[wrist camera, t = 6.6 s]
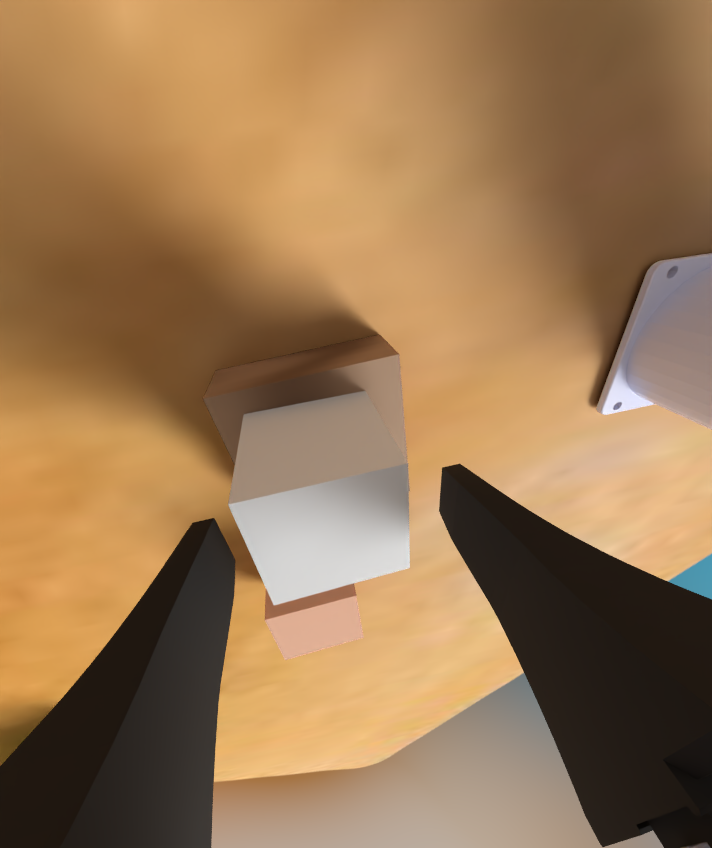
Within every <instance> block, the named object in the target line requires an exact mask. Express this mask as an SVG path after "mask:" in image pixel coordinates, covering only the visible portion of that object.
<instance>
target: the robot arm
mask: <svg viewBox="0 0 712 848" xmlns="http://www.w3.org/2000/svg"><path fill="white" fill-rule="evenodd" d="M653 404H656V405H658V406H661V407H663V408H665V409H667V410H669V411H672V412H674V413H676V414H678V415H680V416H683V417H685V418H687V419H689V420H691V421H694V422H696V423H698V424H700V425H702V426H705V427H707V428H709V429H711V430H712V253H708V254H701V255H695V256H688V257H681V258H674V259H668V260H661V261H658V262H656V263H654V264H653V265H652V266H651V267H650V268H649V269H648V271H647V273H646V275H645V278H644V280H643V283H642V286H641V289H640V291H639V294H638V297H637V299H636V302H635V305H634V307H633V310H632V313H631V316H630V318H629V321H628V324H627V326H626V329H625V332H624V334H623V337H622V340H621V343H620V345H619V348H618V351H617V353H616V356H615V359H614V361H613V364H612V367H611V370H610V372H609V375H608V378H607V380H606V383H605V386H604V388H603V391H602V394H601V397H600V399H599V402H598V405H597V411H598V412H599V413H601V414H603V415H607V414H612V413H616V412H621V411H626V410H630V409H635V408H640V407H644V406H649V405H653ZM439 512H440V514H441V516H442V519H443V521H444V523H445V526H446V528H447V530H448V532H449V534H450V537H451V539H452V541H453V542H454V544H455V546H456V548H457V549H458V551H459V553H460V554H461V556H462V558H463V559H464V561H465V563H466V564H467V566H468V568H469V569H470V571H471V573H472V574H473V576H474V578H475V579H476V581H477V583H478V584H479V586H480V588H481V589H482V591H483V593H484V594H485V596H486V598H487V599H488V601H489V603H490V605H491V606H492V608H493V610H494V612H495V614H496V615H497V617H498V619H499V621H500V623H501V625H502V627H503V629H504V631H505V633H506V635H507V637H508V639H509V641H510V644H511V646H512V648H513V650H514V652H515V654H516V656H517V658H518V660H519V662H520V665H521V667H522V669H523V671H524V673H525V675H526V677H527V679H528V682H529V684H530V686H531V688H532V690H533V693H534V695H535V697H536V699H537V701H538V704H539V706H540V708H541V710H542V713H543V715H544V717H545V720H546V722H547V724H548V727H549V729H550V731H551V733H552V736H553V738H554V740H555V743H556V745H557V747H558V750H559V752H560V754H561V757H562V759H563V762H564V764H565V767H566V769H567V771H568V774H569V776H570V779H571V781H572V784H573V786H574V788H575V791H576V793H577V796H578V798H579V801H580V804H581V806H582V809H583V811H584V814H585V816H586V818H587V820H588V822H589V823H590V825H591V827H592V829H593V831H594V833H595V835H596V837H597V839H598V841H599V843H600V844H601V845H602V847H605V846H608V845H611V844H614V843H617V842H620V841H624V840H627V839H630V838H633V837H636V836H640V835H642V834H645V833H647V832H650V831H652V830H653V831H654V832H655V834H656V835H657V837H658V839H659V840H660V842H661V843H662V845H663V847H664V848H712V600H711V599H709V598H707V597H704V596H701V595H699V594H697V593H694V592H691V591H689V590H686V589H684V588H682V587H679V586H677V585H674V584H672V583H670V582H667V581H665V580H663V579H660V578H658V577H656V576H654V575H651V574H649V573H647V572H645V571H643V570H640V569H638V568H636V567H634V566H632V565H629V564H627V563H625V562H623V561H621V560H619V559H617V558H615V557H613V556H610V555H608V554H606V553H604V552H602V551H600V550H599V549H597V548H595V547H593V546H591V545H589V544H587V543H585V542H583V541H581V540H579V539H577V538H575V537H574V536H572V535H570V534H568V533H566V532H565V531H563V530H561V529H559V528H558V527H556V526H554V525H552V524H551V523H549V522H547V521H546V520H544V519H542V518H541V517H539V516H537V515H536V514H534V513H532V512H531V511H529V510H528V509H526V508H524V507H523V506H521V505H520V504H518V503H517V502H515V501H514V500H512V499H511V498H509V497H508V496H506V495H505V494H503V493H502V492H500V491H499V490H497V489H496V488H494V487H493V486H491V485H490V484H488V483H487V482H486V481H484V480H483V479H481V478H480V477H478V476H477V475H475V474H474V473H473V472H471V471H470V470H468V469H467V468H465V467H464V466H462V465H461V464H457V465H452V466H448V467H443V468H442V479H441V493H440V507H439ZM234 585H235V558H234V556H233V554H232V552H231V550H230V549H229V547H228V545H227V543H226V541H225V539H224V537H223V535H222V533H221V531H220V529H219V527H218V525H217V523H216V521H215V519H214V518H212V519H208V520H203V521H199V522H194V523H192V525H191V526H190V528H189V529H188V530H187V532H186V533H185V535H184V536H183V538H182V539H181V541H180V542H179V544H178V545H177V547H176V548H175V550H174V551H173V553H172V554H171V556H170V557H169V559H168V560H167V562H166V563H165V565H164V566H163V568H162V569H161V571H160V572H159V573H158V575H157V576H156V578H155V579H154V581H153V582H152V583H151V585H150V586H149V588H148V589H147V591H146V592H145V593H144V595H143V596H142V598H141V599H140V601H139V602H138V603H137V605H136V606H135V607H134V609H133V610H132V611H131V613H130V614H129V615H128V617H127V618H126V619H125V621H124V622H123V623H122V625H121V626H120V627H119V629H118V630H117V631H116V633H115V634H114V635H113V637H112V638H111V639H110V641H109V642H108V643H107V645H106V646H105V647H104V648H103V650H102V651H101V652H100V653H99V655H98V656H97V657H96V658H95V660H94V661H93V662H92V663H91V665H90V666H89V667H88V668H87V669H86V671H85V672H84V673H83V674H82V675H81V677H80V678H79V679H78V680H77V681H76V682H75V684H74V685H73V686H72V687H71V688H70V690H69V691H68V692H67V693H66V694H65V696H64V697H63V698H62V699H61V700H60V701H59V702H58V704H57V705H56V706H55V707H54V708H53V709H52V710H51V711H50V713H49V714H48V715H47V716H46V717H45V718H44V719H43V720H42V721H41V722H40V723H39V725H38V726H37V727H36V728H35V729H34V730H33V731H32V732H31V733H30V734H29V736H28V737H27V738H26V739H25V740H24V741H23V742H22V743H21V744H20V745H19V746H18V748H17V749H16V750H15V751H14V752H13V753H12V754H11V755H10V756H9V757H8V758H7V760H6V761H5V762H4V763H3V764H2V765H1V766H0V848H211V834H212V804H213V803H212V802H213V782H214V762H215V744H216V730H217V715H218V701H219V693H220V684H221V677H222V671H223V664H224V658H225V651H226V645H227V639H228V632H229V626H230V619H231V612H232V606H233V599H234Z"/></svg>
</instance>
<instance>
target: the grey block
mask: <svg viewBox="0 0 712 848" xmlns="http://www.w3.org/2000/svg"><path fill="white" fill-rule="evenodd" d="M228 506H229V508H230V510H231V512H232V514H233V517H234V519H235V521H236V523H237V525H238V528H239V530H240V532H241V534H242V536H243V539H244V541H245V543H246V545H247V547H248V550H249V552H250V554H251V556H252V558H253V561H254V563H255V565H256V567H257V569H258V572H259V574H260V576H261V578H262V580H263V583H264V585H265V587H266V589H267V591H268V594H269V596H270V598H271V600H272V602H273V605H278V604H281V603H285V602H288V601H292V600H296V599H299V598H303V597H306V596H310V595H314V594H317V593H321V592H324V591H328V590H332V589H335V588H339V587H342V586H346V585H350V584H353V583H357V582H361V581H364V580H368V579H371V578H375V577H379V576H382V575H386V574H389V573H393V572H397V571H400V570H404V569H407V568H410V550H409V489H408V462H407V461H406V459H405V457H404V455H403V454H402V452H401V450H400V449H399V447H398V445H397V444H396V442H395V440H394V439H393V437H392V435H391V433H390V432H389V430H388V428H387V427H386V425H385V423H384V422H383V420H382V418H381V417H380V415H379V413H378V411H377V410H376V408H375V406H374V405H373V403H372V401H371V400H370V398H369V396H368V394H367V393H366V391H361V392H356V393H351V394H346V395H340V396H335V397H330V398H325V399H320V400H315V401H309V402H304V403H299V404H294V405H289V406H284V407H278V408H273V409H268V410H263V411H258V412H253V413H247V414H244V415H243V421H242V427H241V433H240V438H239V444H238V450H237V456H236V462H235V467H234V473H233V479H232V485H231V491H230V496H229V502H228Z"/></svg>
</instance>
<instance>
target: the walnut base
mask: <svg viewBox="0 0 712 848" xmlns="http://www.w3.org/2000/svg"><path fill="white" fill-rule="evenodd" d="M361 391H366V393H367V394H368V396H369V398H370V400H371V401H372V403H373V405H374V406H375V408H376V410H377V411H378V413H379V415H380V417H381V418H382V420H383V422H384V423H385V425H386V427H387V428H388V430H389V432H390V433H391V435H392V437H393V439H394V440H395V442H396V444H397V445H398V447H399V449H400V450H401V452H402V454H403V455H404V457H405V459H406V461H407V448H406V435H405V423H404V410H403V397H402V384H401V371H400V358H399V354H398V353H397V352H396V351H395V350H394V348H393V347H392V346H391V345H390V344H389V343H388V342H387V341H386V340H385V339H384V338H383V337H382V336H381V335H375V336H371V337H366V338H361V339H357V340H352V341H348V342H343V343H339V344H334V345H330V346H325V347H320V348H316V349H311V350H307V351H302V352H298V353H293V354H289V355H284V356H280V357H275V358H270V359H266V360H261V361H257V362H252V363H248V364H243V365H239V366H234V367H229V368H225V369H220V370H216V371H215V373H214V375H213V377H212V380H211V382H210V384H209V386H208V389H207V391H206V393H205V395H204V397H203V400H204V402H205V404H206V406H207V408H208V411H209V413H210V415H211V417H212V419H213V421H214V423H215V425H216V427H217V429H218V431H219V433H220V436H221V438H222V440H223V442H224V444H225V446H226V448H227V450H228V452H229V454H230V456H231V458H232V461H233V463H234V465H235V462H236V456H237V450H238V444H239V438H240V433H241V427H242V421H243V415H244V414H247V413H253V412H258V411H263V410H268V409H273V408H278V407H284V406H289V405H294V404H299V403H304V402H309V401H315V400H320V399H325V398H330V397H335V396H340V395H346V394H351V393H356V392H361ZM407 462H408V461H407ZM408 489H409V491H410V487H409V474H408Z"/></svg>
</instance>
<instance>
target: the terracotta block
mask: <svg viewBox="0 0 712 848" xmlns="http://www.w3.org/2000/svg"><path fill="white" fill-rule="evenodd" d="M265 621H266V623H267V625H268V627H269V629H270V631H271V633H272V635H273V637H274V639H275V641H276V643H277V645H278V647H279V649H280V651H281V653H282V655H283V657H284V659H285V660H287V659H291V658H294V657H298V656H301V655H305V654H308V653H312V652H315V651H319V650H322V649H326V648H329V647H333V646H336V645H340V644H343V643H347V642H350V641H354V640H357V639H361V638H364V637H363V631H362V626H361V620H360V614H359V608H358V603H357V597H356V592H355V587H354V583H353V584H350V585H346V586H342V587H339V588H335V589H332V590H328V591H324V592H321V593H317V594H314V595H310V596H306V597H303V598H299V599H296V600H292V601H288V602H285V603H281V604H278V605H273V602H272V600H271V598H270V596H269V594H268V591H267V589H266V599H265Z"/></svg>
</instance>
